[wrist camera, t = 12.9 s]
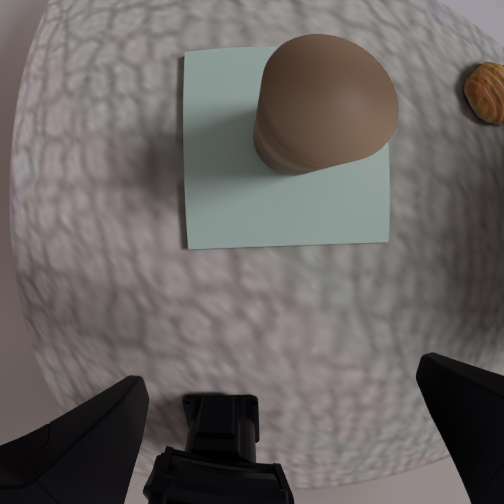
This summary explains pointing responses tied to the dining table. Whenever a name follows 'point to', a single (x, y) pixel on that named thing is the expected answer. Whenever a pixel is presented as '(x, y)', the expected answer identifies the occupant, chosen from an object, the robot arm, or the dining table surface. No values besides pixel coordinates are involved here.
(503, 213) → the dining table surface
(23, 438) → the robot arm
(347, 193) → the card
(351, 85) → the brown rounded cylinder
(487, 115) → the pastry
